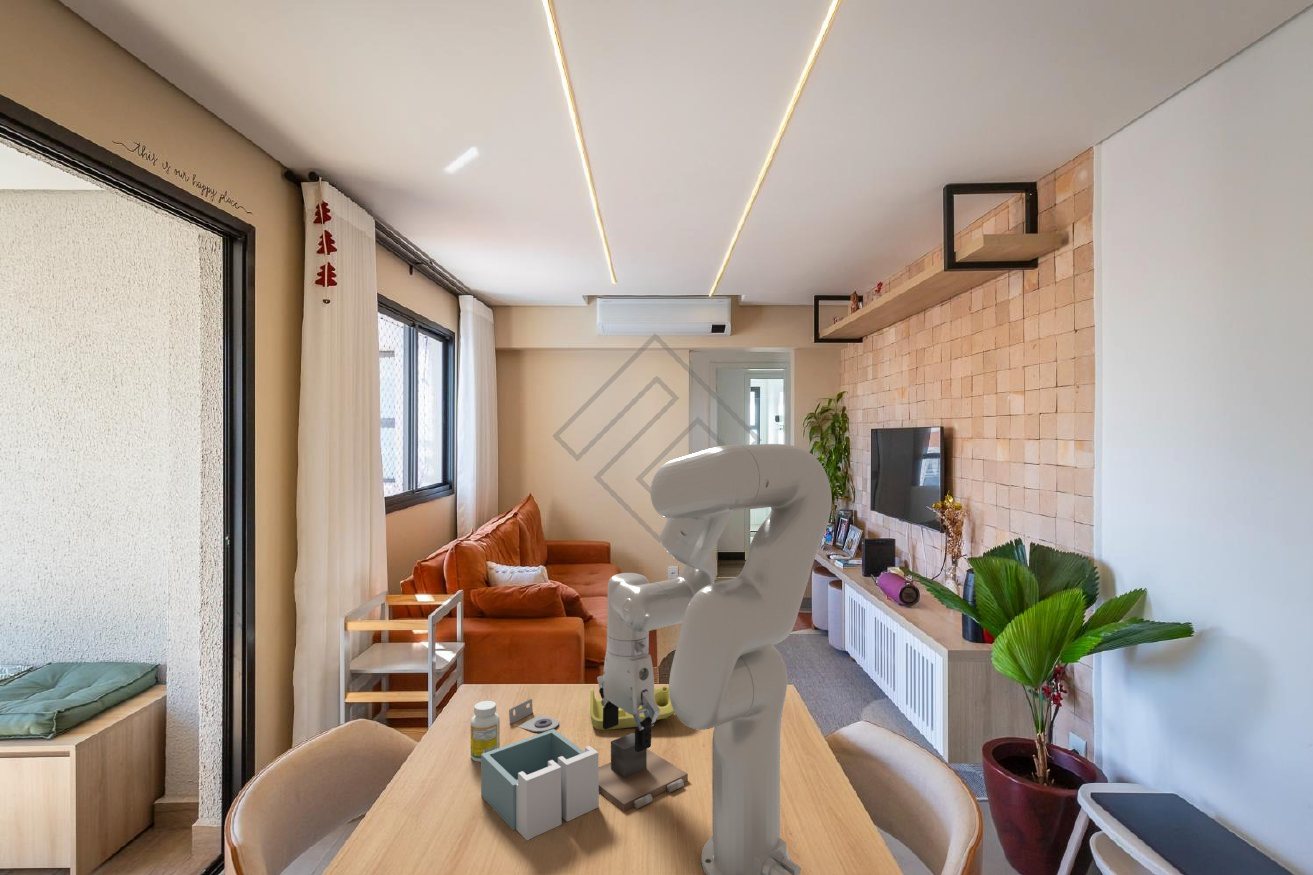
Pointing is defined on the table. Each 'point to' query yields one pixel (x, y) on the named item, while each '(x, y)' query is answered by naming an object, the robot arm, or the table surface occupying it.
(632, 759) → the door
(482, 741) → the supplement bottle
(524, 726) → the bracket
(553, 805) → the cabinet
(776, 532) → the robot arm
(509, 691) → the table surface
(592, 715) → the plastic component
